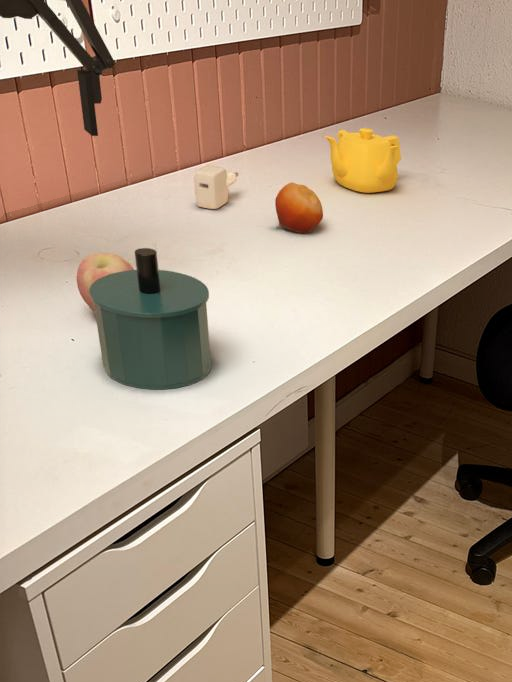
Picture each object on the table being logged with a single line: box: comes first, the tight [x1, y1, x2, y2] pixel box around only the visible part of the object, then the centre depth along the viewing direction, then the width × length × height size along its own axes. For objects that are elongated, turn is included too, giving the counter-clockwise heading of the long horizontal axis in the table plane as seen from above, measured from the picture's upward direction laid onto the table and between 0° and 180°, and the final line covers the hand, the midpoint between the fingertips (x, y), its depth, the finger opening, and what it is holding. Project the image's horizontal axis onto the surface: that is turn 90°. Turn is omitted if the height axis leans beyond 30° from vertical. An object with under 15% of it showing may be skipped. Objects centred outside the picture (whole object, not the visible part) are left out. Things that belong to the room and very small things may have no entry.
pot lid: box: [89, 247, 210, 318], centre depth 111 cm, size 13×13×6 cm
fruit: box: [274, 182, 324, 234], centre depth 160 cm, size 8×8×8 cm
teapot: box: [323, 127, 402, 194], centre depth 181 cm, size 14×13×10 cm
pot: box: [94, 302, 212, 390], centre depth 116 cm, size 13×13×9 cm
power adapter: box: [193, 164, 239, 210], centre depth 166 cm, size 11×5×6 cm, turn 168°
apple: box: [76, 252, 135, 312], centre depth 125 cm, size 8×8×8 cm
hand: (33, 134), depth 114 cm, fingers open, 13 cm apart
